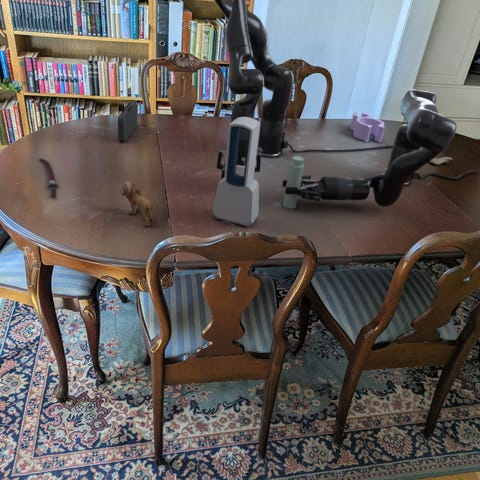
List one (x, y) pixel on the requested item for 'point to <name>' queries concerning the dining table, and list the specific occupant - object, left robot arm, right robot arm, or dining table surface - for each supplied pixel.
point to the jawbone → (440, 160)
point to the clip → (367, 127)
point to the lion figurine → (137, 201)
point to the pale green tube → (293, 181)
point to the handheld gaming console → (127, 121)
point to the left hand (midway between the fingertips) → (237, 181)
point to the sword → (52, 181)
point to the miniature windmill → (295, 93)
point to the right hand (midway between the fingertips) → (284, 187)
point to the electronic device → (239, 178)
